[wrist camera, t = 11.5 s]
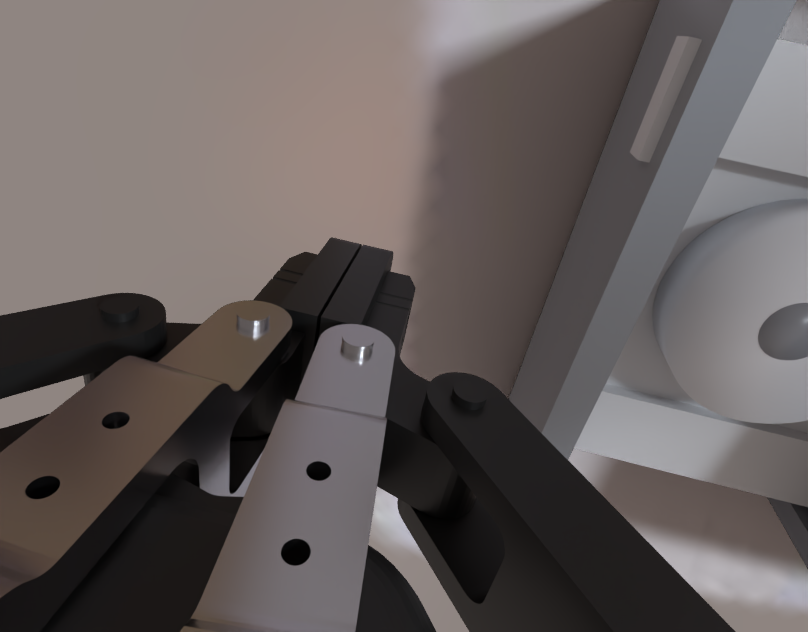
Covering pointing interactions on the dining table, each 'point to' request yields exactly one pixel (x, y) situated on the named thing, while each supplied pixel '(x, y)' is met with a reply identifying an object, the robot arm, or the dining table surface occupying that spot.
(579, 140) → the dining table surface
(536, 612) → the robot arm
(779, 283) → the disc
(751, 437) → the tray
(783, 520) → the block
